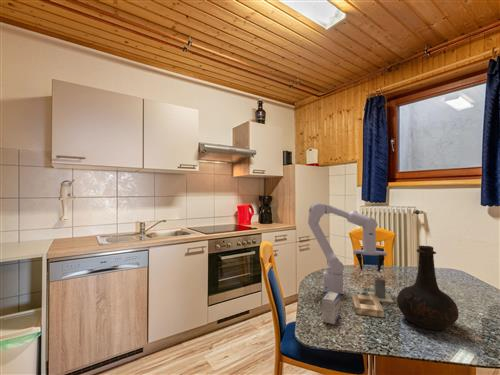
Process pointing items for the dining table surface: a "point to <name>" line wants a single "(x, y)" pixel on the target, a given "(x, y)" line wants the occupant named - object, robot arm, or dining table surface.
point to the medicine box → (330, 307)
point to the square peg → (379, 287)
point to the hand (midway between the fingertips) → (369, 270)
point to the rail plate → (367, 305)
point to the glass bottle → (427, 297)
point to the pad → (387, 298)
